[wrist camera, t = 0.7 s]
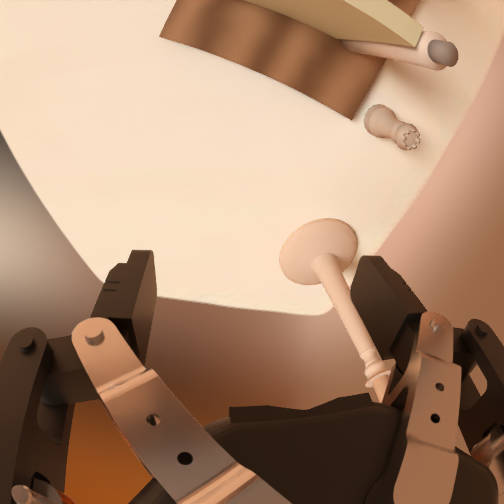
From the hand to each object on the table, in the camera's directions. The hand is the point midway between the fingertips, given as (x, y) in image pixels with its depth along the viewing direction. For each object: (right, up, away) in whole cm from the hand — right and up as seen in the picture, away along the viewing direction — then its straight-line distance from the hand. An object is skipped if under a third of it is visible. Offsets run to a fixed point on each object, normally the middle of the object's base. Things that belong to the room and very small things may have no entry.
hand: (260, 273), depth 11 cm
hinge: (+5, +26, +12) cm, 29 cm away
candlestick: (+10, +1, +36) cm, 38 cm away
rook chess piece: (+16, +18, +23) cm, 34 cm away
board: (+7, +31, +11) cm, 33 cm away
